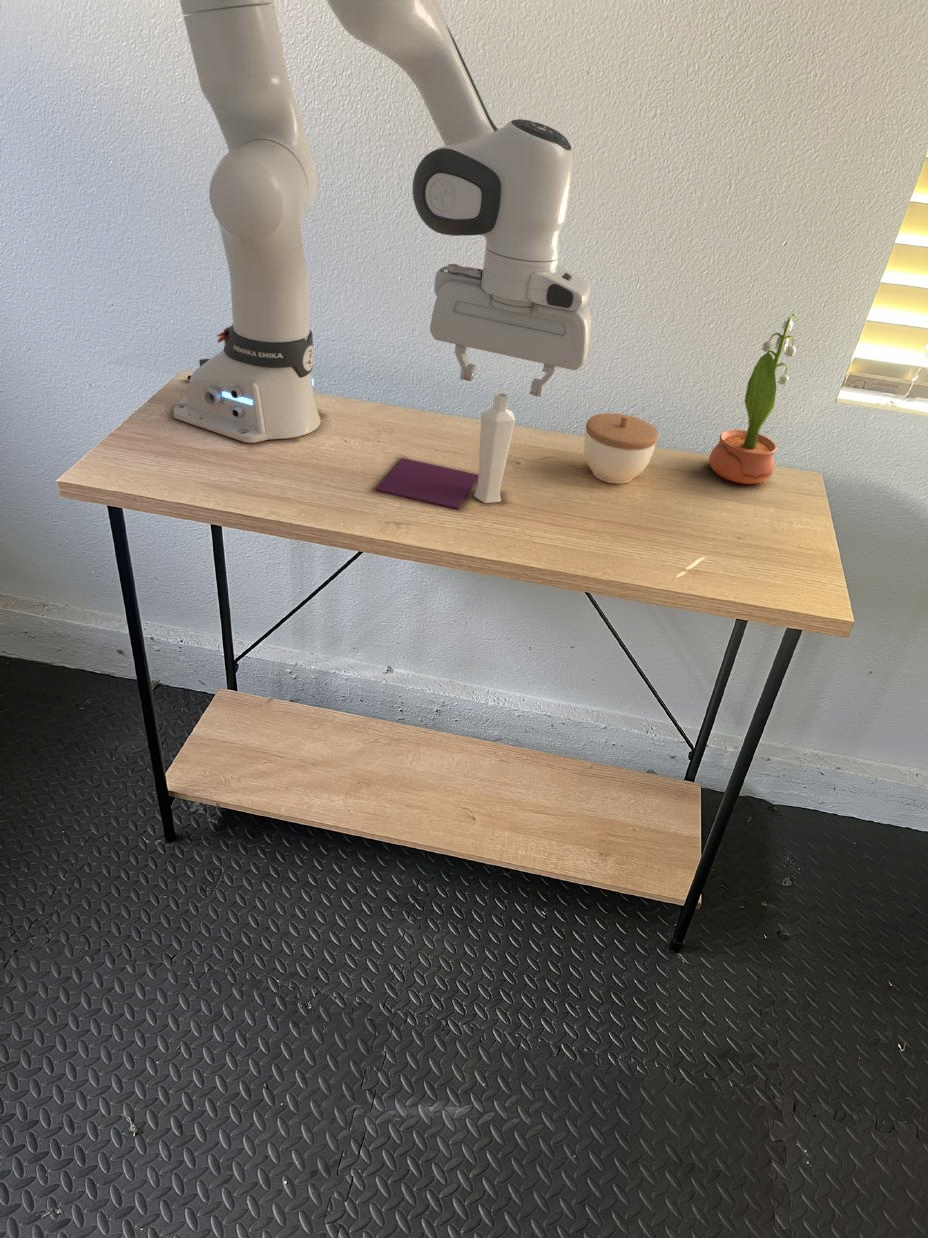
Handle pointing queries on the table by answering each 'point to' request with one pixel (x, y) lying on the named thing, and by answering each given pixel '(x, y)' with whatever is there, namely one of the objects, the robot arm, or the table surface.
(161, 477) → the table surface
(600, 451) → the trinket box
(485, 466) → the white faceted vase
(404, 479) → the cloth
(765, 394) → the potted flower
